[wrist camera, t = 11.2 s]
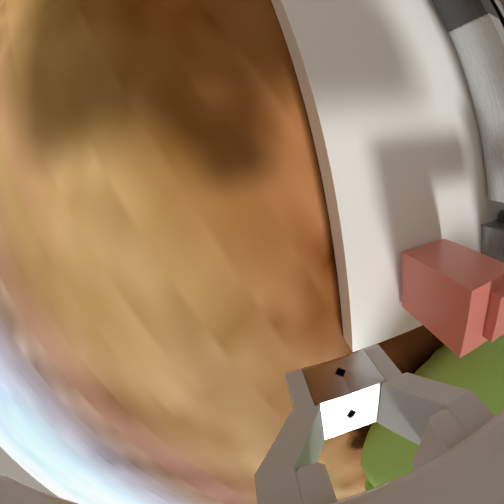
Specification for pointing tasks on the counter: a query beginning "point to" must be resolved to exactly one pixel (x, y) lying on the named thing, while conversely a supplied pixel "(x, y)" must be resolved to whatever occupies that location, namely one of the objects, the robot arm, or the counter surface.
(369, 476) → the teapot
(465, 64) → the tongs fixed
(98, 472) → the counter surface
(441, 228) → the board
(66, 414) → the counter surface
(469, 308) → the lock tab
